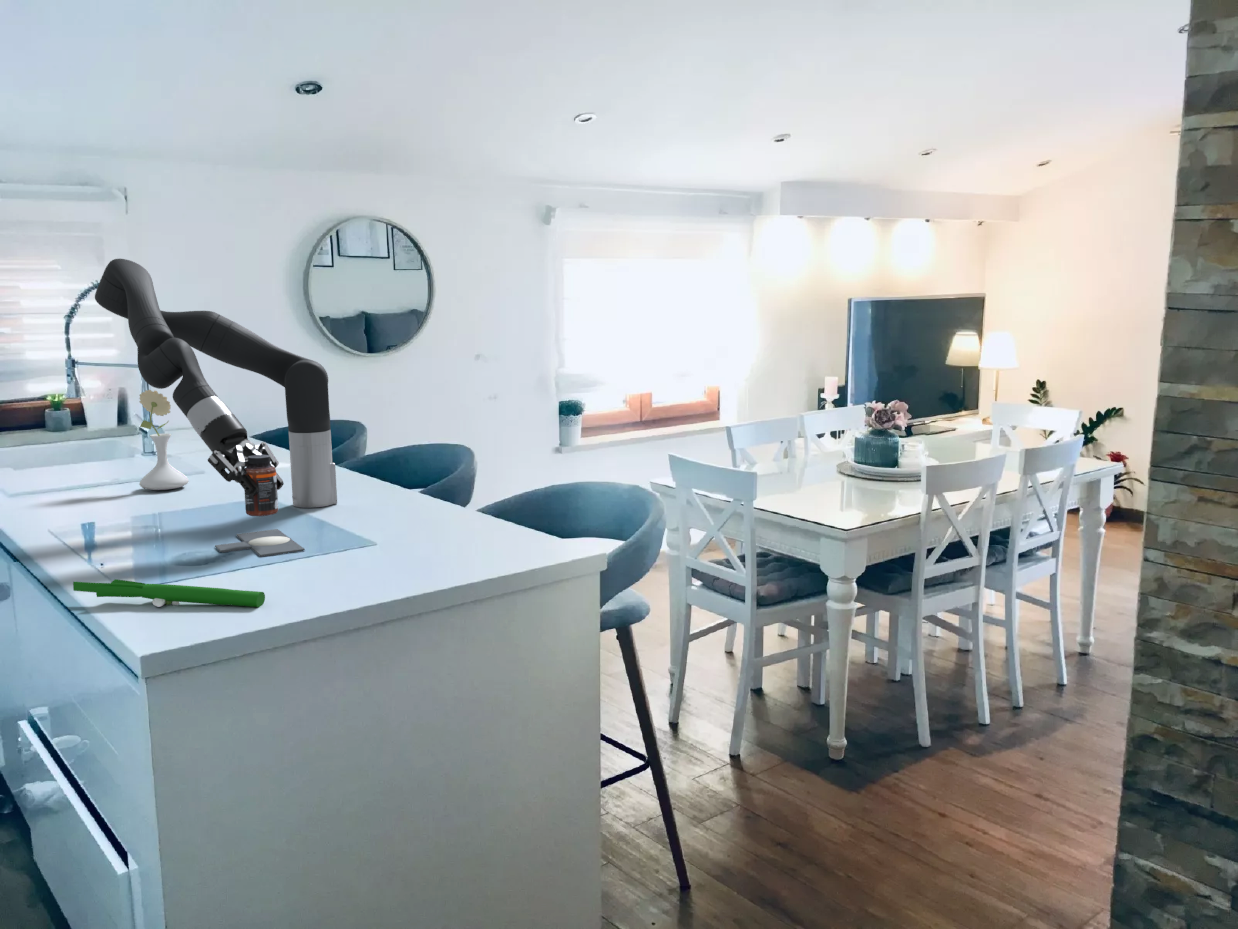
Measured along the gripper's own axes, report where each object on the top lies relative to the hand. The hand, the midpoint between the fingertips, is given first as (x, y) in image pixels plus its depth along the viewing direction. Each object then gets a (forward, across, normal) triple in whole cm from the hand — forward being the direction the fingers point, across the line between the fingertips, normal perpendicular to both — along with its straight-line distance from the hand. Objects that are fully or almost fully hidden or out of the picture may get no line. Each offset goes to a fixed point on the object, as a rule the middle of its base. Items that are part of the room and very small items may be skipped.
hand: (267, 490), depth 189 cm
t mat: (+6, +2, -9) cm, 11 cm away
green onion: (+17, +37, +1) cm, 40 cm away
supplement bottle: (+2, 0, -5) cm, 5 cm away
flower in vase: (-39, -36, -56) cm, 77 cm away
